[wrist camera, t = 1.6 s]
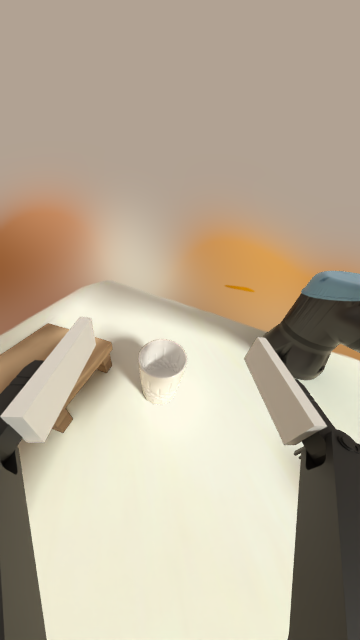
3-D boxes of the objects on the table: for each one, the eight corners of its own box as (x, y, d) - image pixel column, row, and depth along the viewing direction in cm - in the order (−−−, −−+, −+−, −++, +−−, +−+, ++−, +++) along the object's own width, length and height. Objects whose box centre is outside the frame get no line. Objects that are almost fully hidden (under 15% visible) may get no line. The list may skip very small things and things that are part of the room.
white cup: (130, 394, 30) (127, 362, 24) (154, 365, 36) (156, 332, 30) (166, 417, 28) (172, 388, 22) (185, 381, 34) (194, 351, 28)
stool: (115, 364, 35) (111, 342, 31) (63, 437, 24) (45, 419, 20) (59, 346, 37) (48, 323, 32) (-13, 408, 26) (-46, 385, 21)
